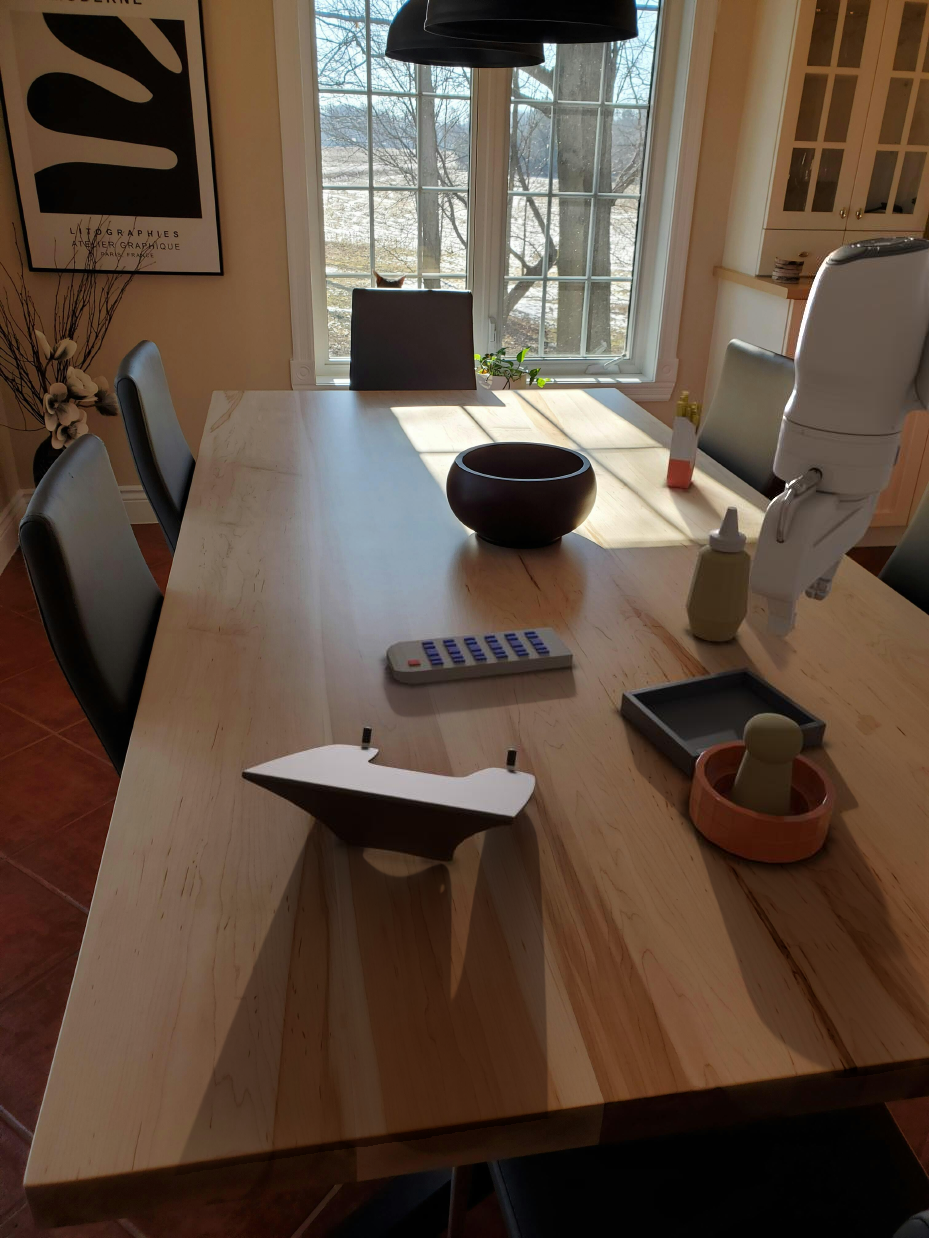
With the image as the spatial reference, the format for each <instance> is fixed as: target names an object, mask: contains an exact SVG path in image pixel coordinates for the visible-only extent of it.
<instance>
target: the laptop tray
mask: <svg viewBox="0 0 929 1238" xmlns="http://www.w3.org/2000/svg"><path fill="white" fill-rule="evenodd" d="M372 732H373V729H372V727H370V726H364V727H363V730H362V736H361V737H362V738H361V745H360V746H359V745H352V744H329V745H324V746H320V747H315V748H309V749H306V750H303V751H299V752H296V753H292V754H288V755H286V756H282V757H279V758H275V759H273V760H270V761H269V760H268V761H266V762H264V763H261V764H258V765H255V766H252V767H250V768H247V769H244V770H242V772H241V778H242V779H243V780H246V781H247V782H250V783H252V784H254V785H256V786H258V787H261V788H262V789H264V790H267V791H268V792H270V793H272V794H274V795H276V796H278V797H280V798H283V799H284V800H285V801H288V802H290V803H291V804H293V805H294V806H296V807H298V808H299V809H301V810H303V811H304V812H306V813H308V814H309V815H310V816H312V817H313V818H314V819H316V820H317V821H318V822H320V823H321V824H322V825H324V826H325V827H326V828H327V829H329V831H330V832H331V833H332V834H333V835H334V836H335V837H336V838H337V839H338V840H339V841H340V842H342V843H344V844H345V845H349V846H355V847H359V848H367V849H375V850H382V851H389V852H394V853H400V854H404V855H409V856H414V857H418V858H423V859H428V860H432V861H437V862H443V863H449V862H452V861H453V859H454V855H455V852H456V850H457V848H458V847H459V846H460V845H461V844H462V843H463V842H464V841H466V840H467V839H469V838H470V837H473V836H474V835H476V834H479V833H483V832H485V831H489V830H492V829H496V828H500V827H505V826H510V825H513V824H514V822H515V820H516V818H517V817H518V816H519V815H520V814H521V813H522V812H523V810H524V809H525V808H526V807H527V806H528V803H529V802H530V800H531V798H532V796H533V795H534V791H535V787H536V778H535V776H534V775H533V774H531V773H527V772H523V771H519V770H515V767H516V761H517V753H518V751H517V750H516V749H514V748H509V749H507V755H506V764H505V765H506V768H502V767H488V768H485V769H482V770H479V771H476V772H473V773H471V774H470V775H467V776H460V777H459V776H449V775H440V774H433V773H427V772H421V771H414V770H410V769H402V768H396V767H390V766H384V765H379V764H374V763H371V762H372V761H374V759H375V758H376V757H377V756H378V755H379V751H380V750H379V749H378V748H375V747H374V748H373V747H370V744H371V740H372Z"/></svg>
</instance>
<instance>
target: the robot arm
mask: <svg viewBox="0 0 929 1238" xmlns="http://www.w3.org/2000/svg"><path fill="white" fill-rule="evenodd" d="M798 334H799V335H798V338H797V343H796V349H795V352H794V353H795V354H794V359H793V360H794V363H793V364H794V372H795V380H794V384H793V388H792V393H791V395H790V397H789V399H788V401H787V403H786V405H785V407H784V410H783V415H782V420H781V425H780V430H779V435H778V440H777V446H776V450H775V455H774V460H773V466H772V472H773V474H774V475H775V476H776V477H777V478H779V479H780V480H782V481H784V482H785V487H784V492H782V493H780V494H779V495H777V496H775V498H773V499H772V500H771V502H770V503H769V505H768V507H767V509H766V511H765V514H764V516H763V520H762V523H761V527H760V530H759V534H758V537H757V541H756V546H755V549H754V555H753V558H752V562H751V565H750V573H749V589H750V591H751V592H752V593H754V594H756V595H758V596H762V597H765V598H766V599H767V606H768V613H769V614H768V619H767V625H766V631H768V633H770V634H772V635H776V636H778V637H781V638H785V637H787V636H788V635H789V634H790V633H791V632H792V631H793V630H794V628H795V624H796V621H797V616H798V613H797V612H796V604H797V601H798V600H799V599H800V596H801V595H802V594H805V597H807V598H809V599H813V600H815V601H819V602H821V601H823V600H824V599H826V598H827V597H828V596H829V595H830V594H831V590H832V586H833V581H834V579H835V576H836V574H837V572H838V570H839V567H840V565H841V563H842V561H843V559H844V555H846V553H848V552H849V551H850V550H851V549H852V548H853V547H854V546H856V544H858V543H859V542H860V541H862V540H863V538H864V537H865V535H866V532H867V531H868V529H869V527H870V524H871V522H872V520H873V517H874V514H875V511H876V508H877V505H878V502H879V499H880V497H881V493H882V492H884V490H887V488H888V487H889V484H890V480H891V476H892V474H893V469H894V468H895V467H896V465H897V463H898V462H899V458H900V453H901V448H902V443H901V437H902V433H903V429H904V426H905V425H904V424H905V419H906V417H907V415H908V414H910V413H911V412H914V411H921V412H924V413H926V414H929V240H928V239H926V238H924V237H923V238H922V237H914V236H895V237H878V238H877V237H876V238H869V239H862V240H858V241H853V242H850V243H847V244H844V245H842V246H841V247H839V248H836V250H835V249H834V251H832V252H830V254H829V255H828V256H827V257H826V258H825V259H824V261H823V262H822V264H821V266H820V267H819V270H818V271H817V273H816V276H815V278H814V281H813V283H812V285H811V289H810V292H809V295H808V298H807V302H806V305H805V309H804V313H803V317H802V321H801V324H800V329H799V333H798Z"/></svg>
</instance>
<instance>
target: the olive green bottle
mask: <svg viewBox="0 0 929 1238" xmlns="http://www.w3.org/2000/svg"><path fill="white" fill-rule="evenodd" d="M743 739H744V744H745V746H746V748H747V749H746V752H745V755H744V758H743V760H742V763H741V766H740V768H739V771H738V774H737V777H736V779H735V782H734V785H733V787H732V790H731V793H730V796H729V798H728V801H730V802H732V803H734V804H735V805H737V806H739V807H742V808H745V809H748V810H751V811H754V812H757V813H762V814H768V815H774V816H789V809H790V793H791V776H792V760H793V759H795V758H796V757H797V755H798V754H800V752H801V751H802V745H803V734H802V732H801V729H800V727H799V726H798V724H796V723H795V722H794V721H793V720H791V719H789V718H787V717H785V716H782V715H779V714H773V713H764V714H758V715H756V716H754V717H753V718H752V719H751V720H750V721H749V722H748V723H747V724H746V726H745V730H744V736H743Z"/></svg>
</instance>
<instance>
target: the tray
mask: <svg viewBox="0 0 929 1238" xmlns="http://www.w3.org/2000/svg"><path fill="white" fill-rule="evenodd" d="M621 695H622V696H621V703H620V711H619V712H620V713H621V714H622V716H624V717H625V718H626V719H627V720H628V721H630V723H632V724H633V725H634V727H635V728H637V729H638V730H639V731H640V732H641V733H642V734H643V735H644V736H646V738H647V739H648V740H650V741H651V742H652V743H653V744H654V746H656V747H657V748H658V749H659V750H660V751H661V752H662V753H663V754H664V755H665V756H667V758H669V759H670V760H671V761H672V762H673V763H674V764H675V765H676V766H677V767H678V768H679V769H680V770H681V771H683V772H684V773H685V774H686V775H687V776H688V777H689V778H692V777H694V772H695V766H696V762H697V760H698V759H699V757H700V756H701V754H702V753H703V752H704V751H706V750H708V749H709V748H711V747H713V746H715V745H719V744H723V743H727V742H732V741H744V739H743V736H744V730H745V726H746V724H747V723H748V722H749V721H750V720H751V719H752V718H753V717H754V716H756V715H758V714H764V713H773V714H779V715H782V716H785V717H787V718H789V719H791V720H793V721H794V722H795V723H796V724H798V726H799V727H800V729H801V732H802V734H803V745H802V749H803V750H804V749H806V748H810V747H814V746H818V745H822V744H823V742H824V737H825V732H826V728H827V723H826V722H824V721H823V720H822V719H821V718H819V717H817V716H816V715H815V714H813V713H812V712H810V711H809V710H808V709H806V708H805V707H804V706H802V705H800V704H799V703H798V702H796V701H795V700H794V699H792V698H791V697H789V696H788V695H786V694H785V693H784V692H782V691H781V690H779V689H778V688H776V687H775V686H774V685H772V684H771V683H769V682H768V681H767V680H765V679H764V678H763V677H761V676H760V675H758V674H757V673H755V672H754V671H753V670H751V669H750V668H748V667H739V668H735V669H731V670H726V671H721V672H717V673H716V672H715V673H712V674H705V675H702V676H696V677H692V678H688V679H687V678H686V679H681V680H678V681H673V682H667V683H664V684H663V683H662V684H659V685H652V686H649V687H644V688H639V689H634V690H629V691H625V692H624V691H623V692H622V694H621ZM802 749H801V750H802Z"/></svg>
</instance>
